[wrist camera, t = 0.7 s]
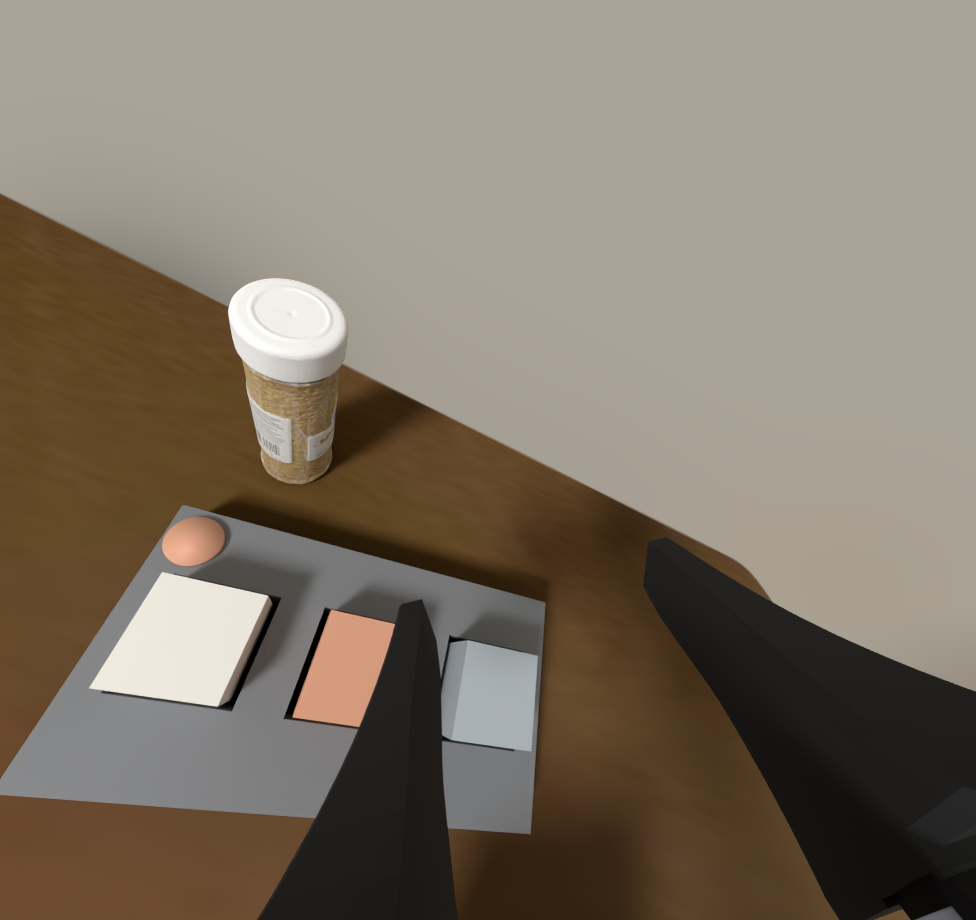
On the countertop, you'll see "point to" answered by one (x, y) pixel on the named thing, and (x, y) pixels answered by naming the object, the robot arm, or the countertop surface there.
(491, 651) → the grey button
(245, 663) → the off-white button
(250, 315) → the spice jar
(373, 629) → the terracotta button
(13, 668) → the countertop surface
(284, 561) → the console
